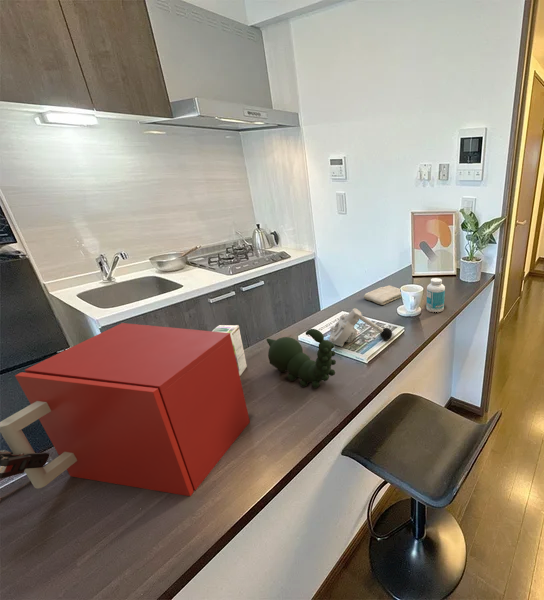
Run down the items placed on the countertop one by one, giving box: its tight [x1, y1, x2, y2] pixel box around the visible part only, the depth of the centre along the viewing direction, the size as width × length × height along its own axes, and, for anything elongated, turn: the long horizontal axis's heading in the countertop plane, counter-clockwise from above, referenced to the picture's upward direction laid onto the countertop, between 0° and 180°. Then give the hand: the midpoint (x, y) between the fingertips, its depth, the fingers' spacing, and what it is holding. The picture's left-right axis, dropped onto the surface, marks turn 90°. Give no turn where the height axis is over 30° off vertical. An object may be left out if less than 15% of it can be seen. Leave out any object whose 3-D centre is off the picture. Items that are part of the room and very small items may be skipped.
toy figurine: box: [265, 328, 337, 389], centre depth 91 cm, size 9×19×25 cm
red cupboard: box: [24, 322, 251, 491], centre depth 67 cm, size 18×26×24 cm
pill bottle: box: [426, 277, 446, 314], centre depth 136 cm, size 8×7×14 cm
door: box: [0, 371, 195, 497], centre depth 55 cm, size 7×26×24 cm, turn 81°
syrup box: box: [212, 324, 248, 376], centre depth 94 cm, size 6×6×14 cm
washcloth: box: [363, 284, 402, 306], centre depth 150 cm, size 12×18×3 cm, turn 140°
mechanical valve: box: [329, 307, 393, 348], centre depth 113 cm, size 10×18×15 cm
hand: (38, 458), depth 56 cm, fingers closed on door, 2 cm apart
